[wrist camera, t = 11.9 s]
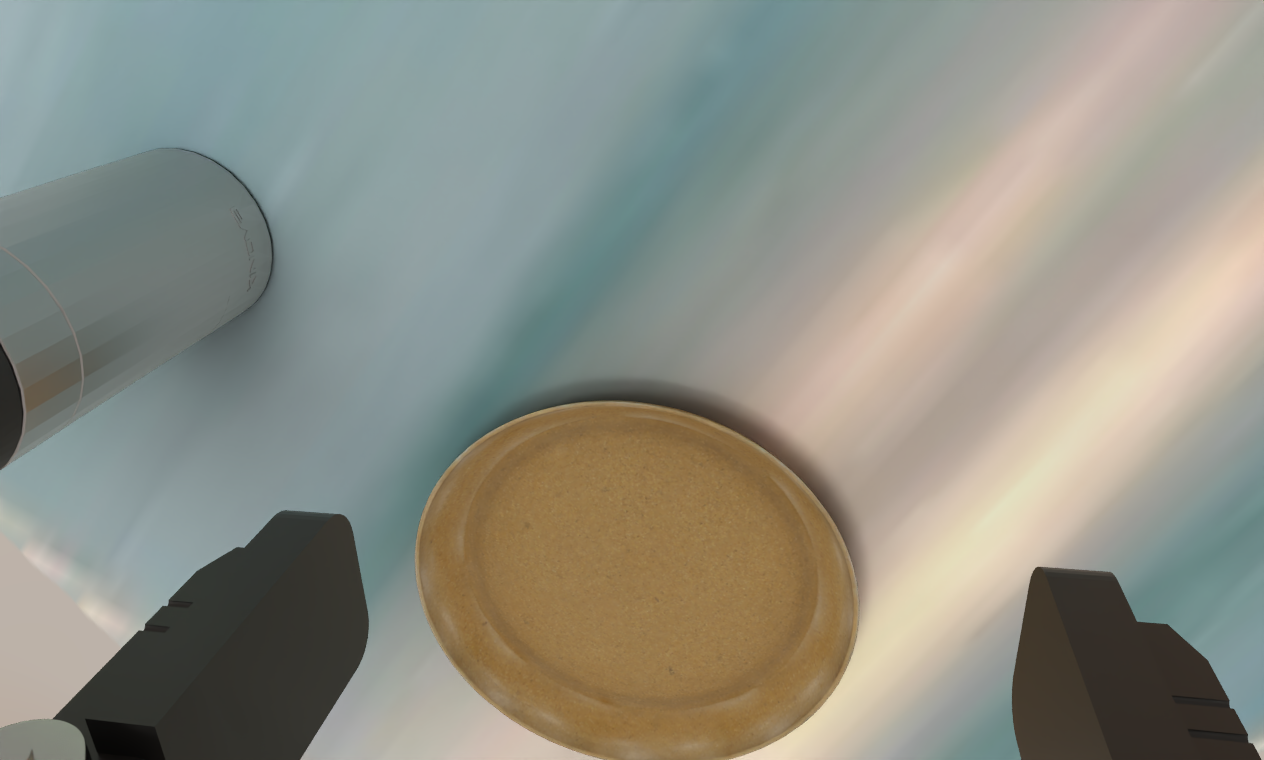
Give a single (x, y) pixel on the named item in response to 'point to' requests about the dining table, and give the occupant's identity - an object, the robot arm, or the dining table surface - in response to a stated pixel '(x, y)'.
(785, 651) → the plant saucer
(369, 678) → the dining table surface
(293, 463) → the dining table surface
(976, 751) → the dining table surface
